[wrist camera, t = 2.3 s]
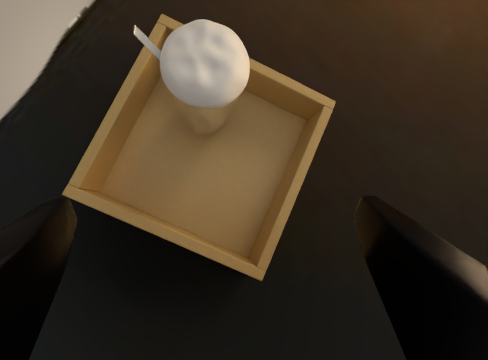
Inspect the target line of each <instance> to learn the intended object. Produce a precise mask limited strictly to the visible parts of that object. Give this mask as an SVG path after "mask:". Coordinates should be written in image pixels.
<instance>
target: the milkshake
mask: <svg viewBox="0 0 488 360" xmlns="http://www.w3.org/2000/svg"><path fill="white" fill-rule="evenodd" d="M133 34H134V35H135V36H136V37H137V38H138V39H139V40H140V41H141V42H142V43H143V44H144V45H145V46H146V47H147V48H148V49H149V50H150V51H151V52H152V53H153V54H154V55H155V56H156V57H157V58H158V59H159V60H160V72H161V76H162V79H163V81H164V83H165V85H166V86H167V88H168V90H169V92H170V93H171V95H172V97H173V99H174V101H175V103H176V105H177V107H178V109H179V111H180V113H181V115H182V118H183V120H184V122H185V124H186V125H187V126H188V127H189V128H190V129H191V130H192V131H193V132H194V133H195V134H201V135H207V136H209V135H211V134H213V133H215V132H217V131H219V130H220V129H221V128H222V126H223V124H224V122H225V120H226V118H227V116H228V114H229V112H230V110H231V109H232V107H233V106H234V104H235V103H236V101H237V100H238V98H239V96H240V95H241V93H242V92H243V90H244V88H245V87H246V85H247V82H248V78H249V73H250V63H249V57H248V54H247V51H246V49H245V47H244V45H243V43H242V41H241V40H240V38H239V37H238V36H237V34H236V33H235V32H233V31H232V30H231V29H229V28H228V27H226V26H224V25H221V24H218V23H215V22H212V21H209V20H204V19H200V20H195V21H192V22H190V23H188V24H186V25H183V26H181V27H179V28H177V29H175V30H174V31H173V32H172V33H171V34H170V35H169V36H168V37H167V39H166V41H165V42H164V45H163V47H162V50H161V51H160V50H159V49H158V48H157V47H156V46H155V44H154V43H153V42H152V41H151V40H150V39H149V38H148V37H147V36H146V35H145V34H144V33H143V32H142V31H141V30H140V29H139V27H138V26H137V25H135V26H134V31H133Z"/></svg>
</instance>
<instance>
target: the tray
mask: <svg viewBox="0 0 488 360" xmlns="http://www.w3.org/2000/svg"><path fill="white" fill-rule="evenodd" d="M181 26H183V24H181V23H179V22H177V21H175V20H173V19H171V18H169V17H167V16H165V15H163V14H161V16H160V18H159V20H158V23H156V25H155V27H154V29H153V30H152V32H151V34H150V36H149V39H150V40H151V41H152V42H153V43H154V44H155V46H156V47H157V48H158V49H159V50H160V51H161V50H162V47H163V45H164V42H165V41H166V39H167V37H168V36H169V35H170V34H171V33H172V32H173V31H174V30H175V29H177V28H179V27H181ZM249 63H250V73H249V78H248V82H247V85H246V87H245V88H244V90H243V92H242V93H241V95H240V96H239V98H238V100H237V101H236V103H235V104H234V106H233V107H232V109H231V110H230V112H229V114H228V116H227V118H226V120H225V122H224V124H223V126H222V128H221V129H220V130H219V131H217V132H215V133H213V134H211V135H209V136H207V135H201V134H195V133H194V132H193V131H192V130H191V129H190V128H189V127H188V126H187V125H186V124H185V122H184V120H183V118H182V115H181V113H180V111H179V109H178V107H177V105H176V103H175V101H174V99H173V97H172V95H171V93H170V92H169V90H168V88H167V86H166V85H165V83H164V81H163V79H162V76H161V72H160V60H159V59H158V58H157V57H156V56H155V55H154V54H153V53H152V52H151V51H150V50H149V49H148V48H147V47H146V46H145V45H144V47H143V49H142V50H141V52H140V54H139V56H138V58H137V60H136V61H135V63H134V65H133V67H132V69H131V70H130V72H129V74H128V76H127V78H126V80H125V81H124V83H123V85H122V87H121V89H120V90H119V92H118V94H117V96H116V98H115V100H114V101H113V103H112V105H111V107H110V109H109V110H108V112H107V114H106V116H105V118H104V120H103V121H102V123H101V125H100V127H99V129H98V131H97V132H96V134H95V136H94V138H93V140H92V141H91V143H90V145H89V147H88V149H87V151H86V152H85V154H84V156H83V158H82V160H81V161H80V163H79V165H78V167H77V169H76V171H75V172H74V174H73V176H72V178H71V180H70V181H69V184H68V185H67V186H66V188H65V190H64V192H63V194H62V195H64V196H66V197H69V198H71V199H73V200H76V201H78V202H80V203H83V204H85V205H87V206H89V207H92V208H94V209H96V210H99V211H101V212H103V213H106V214H108V215H110V216H113V217H115V218H117V219H119V220H122V221H124V222H126V223H129V224H131V225H133V226H136V227H138V228H140V229H143V230H145V231H147V232H149V233H152V234H154V235H156V236H159V237H161V238H163V239H166V240H168V241H170V242H173V243H175V244H177V245H179V246H182V247H184V248H186V249H189V250H191V251H193V252H196V253H198V254H200V255H202V256H205V257H207V258H209V259H212V260H214V261H216V262H219V263H221V264H223V265H226V266H228V267H230V268H232V269H235V270H237V271H239V272H242V273H244V274H246V275H249V276H251V277H253V278H256V279H258V280H260V281H262V280H263V277H264V275H265V272H266V270H267V267H268V265H269V263H270V260H271V258H272V255H273V253H274V251H275V248H276V246H277V243H278V241H279V238H280V236H281V234H282V231H283V229H284V226H285V224H286V222H287V219H288V217H289V214H290V212H291V209H292V207H293V205H294V202H295V200H296V197H297V195H298V193H299V190H300V188H301V185H302V183H303V180H304V178H305V176H306V173H307V171H308V168H309V166H310V164H311V161H312V159H313V156H314V154H315V151H316V149H317V147H318V144H319V142H320V139H321V137H322V135H323V132H324V130H325V127H326V125H327V122H328V120H329V118H330V115H331V113H332V110H333V108H334V105H335V103H336V102H335V101H334V100H332V99H330V98H328V97H326V96H324V95H322V94H320V93H318V92H316V91H314V90H312V89H310V88H308V87H306V86H304V85H302V84H300V83H298V82H296V81H294V80H292V79H290V78H288V77H286V76H284V75H282V74H280V73H278V72H276V71H274V70H272V69H270V68H268V67H266V66H264V65H262V64H260V63H258V62H256V61H254V60H252V59H251V58H249Z"/></svg>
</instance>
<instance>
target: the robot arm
mask: <svg viewBox="0 0 488 360" xmlns="http://www.w3.org/2000/svg"><path fill="white" fill-rule="evenodd" d="M354 223H355V227H356V230H357V234H358V237H359V240H360V244H361V247H362V251H363V254H364V257H365V260H366V263H367V266H368V268H369V271H370V273H371V275H372V278H373V280H374V283H375V285H376V287H377V290H378V292H379V295H380V297H381V299H382V302H383V304H384V307H385V309H386V311H387V314H388V316H389V319H390V321H391V323H392V326H393V328H394V330H395V333H396V335H397V338H398V340H399V342H400V345H401V347H402V350H403V352H404V354H405V357H406V359H407V360H488V268H486V266H485V265H483V264H482V263H480V262H478V261H477V260H475V259H474V258H472V257H471V256H469V255H467V254H466V253H464V252H463V251H461V250H459V249H458V248H456V247H455V246H453V245H452V244H450V243H448V242H447V241H445V240H444V239H442V238H441V237H439V236H437V235H436V234H434V233H433V232H431V231H430V230H428V229H426V228H425V227H423V226H422V225H420V224H418V223H417V222H415V221H414V220H412V219H411V218H409V217H407V216H406V215H404V214H403V213H401V212H400V211H398V210H396V209H395V208H393V207H392V206H390V205H388V204H387V203H385V202H384V201H382V200H381V199H379V198H377V197H376V196H363V197H362V198H361V199H360V201H359V203H358V206H357V208H356V210H355V213H354ZM76 227H77V217H76V214H75V211H74V209H73V206H72V204H71V201H70V200H69V198H66V197H53V198H50V199H49V200H47V201H45V202H44V203H42V204H41V205H39V206H37V207H36V208H34V209H33V210H31V211H30V212H28V213H26V214H25V215H23V216H22V217H20V218H18V219H17V220H15V221H14V222H12V223H11V224H9V225H7V226H6V227H4V228H3V229H1V230H0V360H29V358H30V355H31V353H32V350H33V348H34V345H35V343H36V340H37V338H38V336H39V333H40V331H41V328H42V326H43V323H44V321H45V318H46V316H47V313H48V311H49V308H50V306H51V303H52V301H53V298H54V296H55V293H56V291H57V289H58V286H59V284H60V281H61V279H62V276H63V273H64V270H65V267H66V264H67V260H68V256H69V252H70V249H71V245H72V241H73V238H74V234H75V230H76Z"/></svg>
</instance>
